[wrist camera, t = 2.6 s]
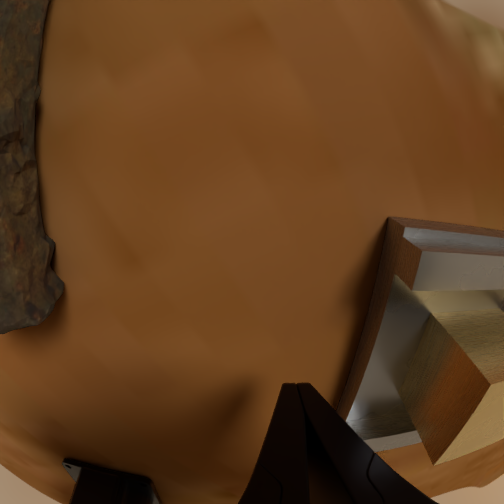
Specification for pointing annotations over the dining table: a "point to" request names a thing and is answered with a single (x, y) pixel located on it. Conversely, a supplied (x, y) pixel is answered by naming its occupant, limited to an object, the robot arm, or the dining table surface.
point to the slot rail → (415, 316)
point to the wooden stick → (22, 173)
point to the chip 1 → (457, 383)
